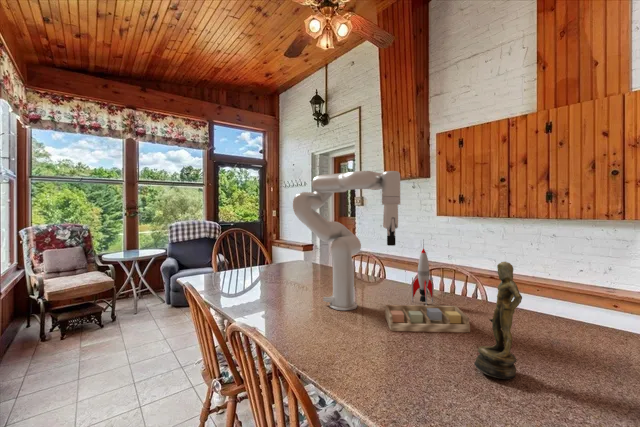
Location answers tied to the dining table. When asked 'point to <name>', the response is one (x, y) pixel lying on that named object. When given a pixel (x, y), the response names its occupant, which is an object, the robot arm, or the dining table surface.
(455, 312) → the key mustard
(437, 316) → the key slate
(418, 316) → the key sage
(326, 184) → the robot arm
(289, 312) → the dining table surface
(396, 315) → the key terracotta
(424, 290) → the toy
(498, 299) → the statue
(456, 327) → the tray
